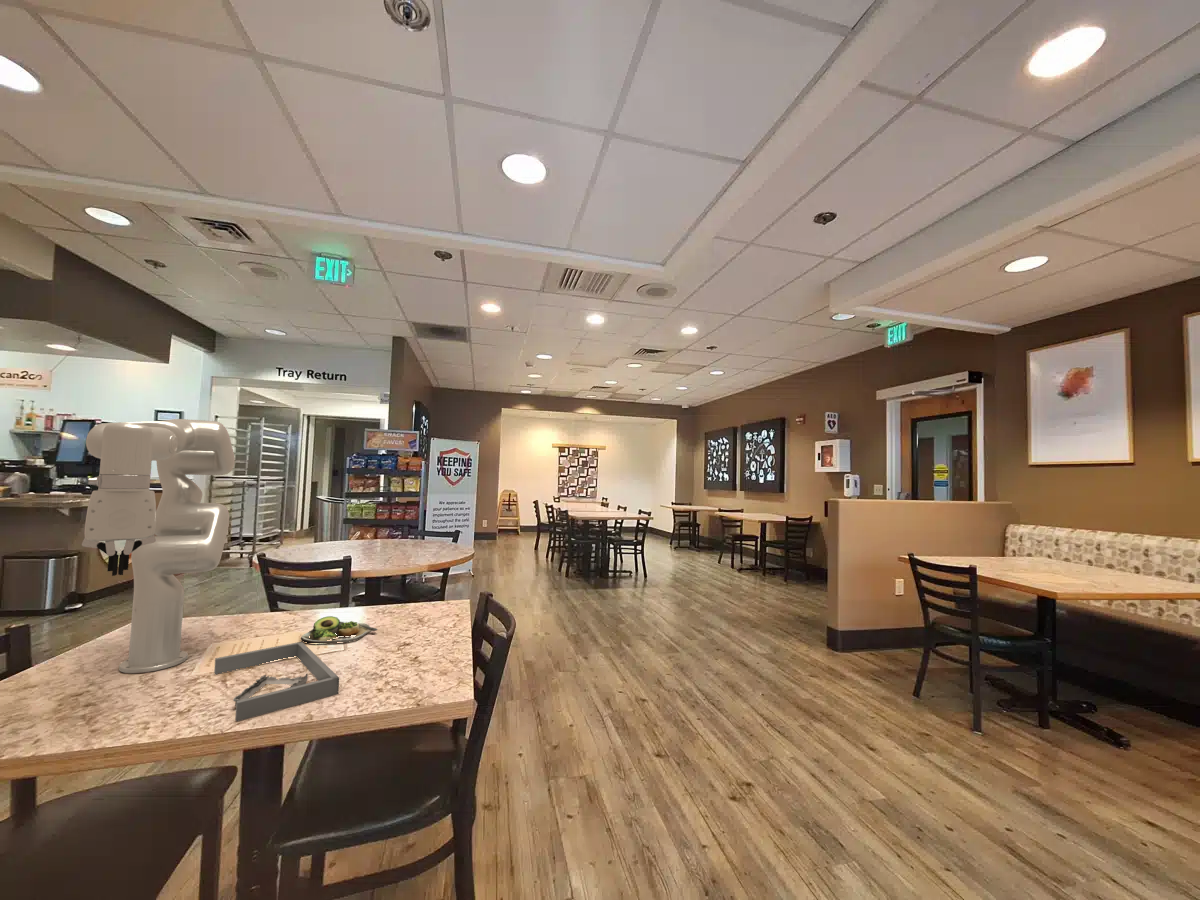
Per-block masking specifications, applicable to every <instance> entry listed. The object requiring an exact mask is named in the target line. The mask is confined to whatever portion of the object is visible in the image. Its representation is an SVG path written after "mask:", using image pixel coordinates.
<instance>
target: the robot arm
mask: <svg viewBox="0 0 1200 900" xmlns="http://www.w3.org/2000/svg"><path fill="white" fill-rule="evenodd" d="M85 445H86V450H87V451H88V452H89V454H90V455H91V456H93V457H94V458H97V459H100V463H99V464H100V465H99V475H98V476H95V477H89V478H88V483H87V484H88V485H92V486H95V487H98V489H97V490H93V491H92V492H91V495H90V497H89V501H88V506H87V510H86V516H85V522H84V523H85V524H84V537H83V538H84V539H83V540H82V543H81V546H82V547H85V548H92V549H99V550H100V551H101V552H103V553H104V554H106V555H107V556H108V558H107V559H108V560H107V572H111V573H112V574H111V576H112V577H113V576H114V577H115V576H118V575H119V576H123V575H124V571H129V566H130V565H129V563H130V560H131V566H132V574H133V598H132V609H131V611H132V612H131V622H130V623H131V624H130V635H129V646H128V647H129V649H128V659H125V660H124V661H121V663H120V664H119V666H118V671H120V672H122V673H124V674H140V673H142V674H143V673H150V672H155V671H160V670H165V669H168V668H171V667H174V666H177V665H179V664H182V663H183V662H185V661H186V660H187V659H188V655H189V654H188V652H187V651H184V650H181V644H182V631H183V630H182V627H183V613H184V603H185V602H184V601H185V588H184V586H183V584H182V582H181V581H180V580H179V579H178V578H177V577H176V576H175V575H177V574H192V573H194V574H195V573H205V572H211V571H214V569H215V570H216V569H217V567H218V566H219V564H220V562H221V559H222V555H223V551H224V547H225V542H226V539H227V534H228V531H229V524H230V513H229V510H228V508H227V507H226V506H225V504H222V503H217V502H202V499H203V491H202V489H200V487H199V486H198V484H196V483H195V481H193V480H192V479H190V478H189V477H187V476H186V475H189V476H190V475H191V476H225V475H228V474H230V473H231V472H232V471H233V469H234V466H235V461H236V460H235V454H234V452H235V451H234V449H233V445H232V441H231V438H230V434H229V432H228V429H227V427H225V425H224V424H222V422H220V421H216V420H205V419H204V420H203V419H202V420H201V419H184V418H175V419H174V418H173V419H166V420H152V421H151V420H149V421H148V420H147V421H146V420H145V421H128V422H127V421H124V422H123V421H121V422H107V423H106V422H105V423H99V424H97V425H95V426H93V427H92V428H91V429H90V430H89V432H88V433H87V436H86V440H85ZM153 461H155V463H156V468H157V469H156V470H157V475H158V478H159V482H160V485H161V489H162V494H161V497H160V499H159V502H158V506H157V501H156V494H155V490H151V488H150V485H151V474H152V473H151V472H152V462H153ZM115 541H125V544H124V548H123V549H122V550H121V552H120V554H118V551H117V550H116V545H115ZM130 555H131V556H130ZM130 557H131V559H130Z"/></svg>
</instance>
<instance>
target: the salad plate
mask: <svg viewBox="0 0 1200 900" xmlns="http://www.w3.org/2000/svg"><path fill="white" fill-rule="evenodd" d="M376 631H378V628H376V627H371V626H370V625H369V624H368V623H366V622H365V623H363V622H362V623H358V622H357V621H353V620H351V621H350V620H349V622H347V621H346V622H344V621H340V619H339V618H338V617H337V616H333V615H332V616H331V615H328V616H324V617H321V618H319V619H318V620H316V621H315V622H314V623H313V626H312V629H311V630H309V631H308V632H306V633H303V634H302V636H300V640H301V642H303V641H304V642H307V643H337V642H348V643H350V642H349V641H352V642H354V641H353V640H356V641H358V640H360V639H359V638H361V637H362V636H363V637H364V636H366V635H367V634H369V633H371V632H376ZM335 633H336V634H337V635H336V634H335ZM365 634H366V635H365ZM351 635H356V636H355V637H353V638H351V637H348V638H340V639H335V640H332V641H327V640H330V639H333V638H336V637H338V636H344V637H345V636H351ZM309 636H310V638H309ZM363 637H362V638H363ZM362 638H361V639H362ZM357 639H358V640H357ZM304 642H303V643H304Z"/></svg>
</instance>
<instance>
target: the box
mask: <svg viewBox="0 0 1200 900" xmlns="http://www.w3.org/2000/svg"><path fill="white" fill-rule="evenodd" d="M294 656H297V657H298V658H299V659H300V660H301V661H300V660H299V659H298V658H297V657H296V658H297V659H298V660H299V661H300V662H301V664H303V666H304V667H305V666H306V667H307V670H308V671H309V672H310V673H311V675H313V677H315V678H316V681H312V682H306V684H303V685H299V686H295V687H291V686H290V687H291V688H290V687H286V688H287V689H286V688H284V689H279V690H276V691H271V692H268V693H264V694H260V695H256V696H251V697H249V698H246V699H242V700H238V701H236V706H235V716H234V717H235V718H234V719H235V722H236V721H237V722H240V721H244V720H247V719H248V720H249V719H250V718H251V719H252V718H254V717H258V716H261V715H265V714H269V713H273V712H276V711H281V710H284V709H288V708H292V707H294V706H295V707H296V706H298V705H302V704H305V703H311V702H313V701H317V700H320V699H324V698H328V697H331V696H332V697H333V696H336V695H339V693H340V691H339V690H340V688H339V687H340V677H339V676H338V675H337V673H335V672H334V671H333V670H332V669H331V668H329V666H328V665H327V664H326V663H324V662H323V660H322V659H320V658H319V656H317V654H315V653H314V652H313V651H312V650H311V649H310V648H309V647H308V646H307V644H306V643H304V642H303V641H298V642H292V643H288V644H282V645H278V646H272V647H266V648H261V649H256V650H250V651H246V652H242V653H241V652H240V653H236V654H230V655H225V656H219V657H216V658H215V659H214V671H213V672H214V673H215V674H216V675H219V674H218V673H220V674H223V673H222V672H225V673H228V672H227V671H230V672H233V671H232V670H235V671H237V670H236V669H239V670H241V669H240V668H244V669H247V668H246V667H249V668H251V667H250V666H254V667H256V666H255V665H258V666H260V665H259V664H262V663H266V662H270V661H274V660H278V659H283V658H288V657H294ZM306 667H305V668H306ZM214 673H213V674H214ZM215 674H214V675H215Z"/></svg>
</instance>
